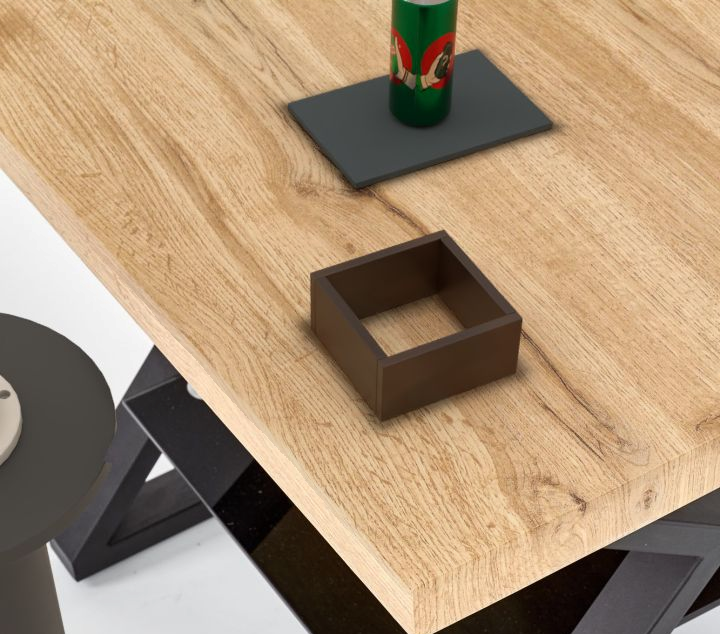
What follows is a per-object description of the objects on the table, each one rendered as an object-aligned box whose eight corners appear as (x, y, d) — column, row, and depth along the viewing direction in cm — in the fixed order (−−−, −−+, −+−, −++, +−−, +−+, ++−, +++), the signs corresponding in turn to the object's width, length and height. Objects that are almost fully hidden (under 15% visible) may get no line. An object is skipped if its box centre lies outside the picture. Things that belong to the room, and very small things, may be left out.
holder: (381, 422, 105) (383, 367, 101) (310, 327, 111) (309, 272, 108) (516, 373, 109) (523, 317, 105) (440, 283, 115) (444, 228, 111)
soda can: (455, 99, 129) (465, -37, 120) (444, 134, 126) (453, -3, 117) (395, 91, 130) (400, -46, 120) (382, 126, 126) (386, -12, 117)
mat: (355, 189, 122) (355, 183, 121) (287, 109, 129) (287, 103, 128) (552, 128, 127) (553, 122, 127) (477, 54, 134) (477, 48, 134)
